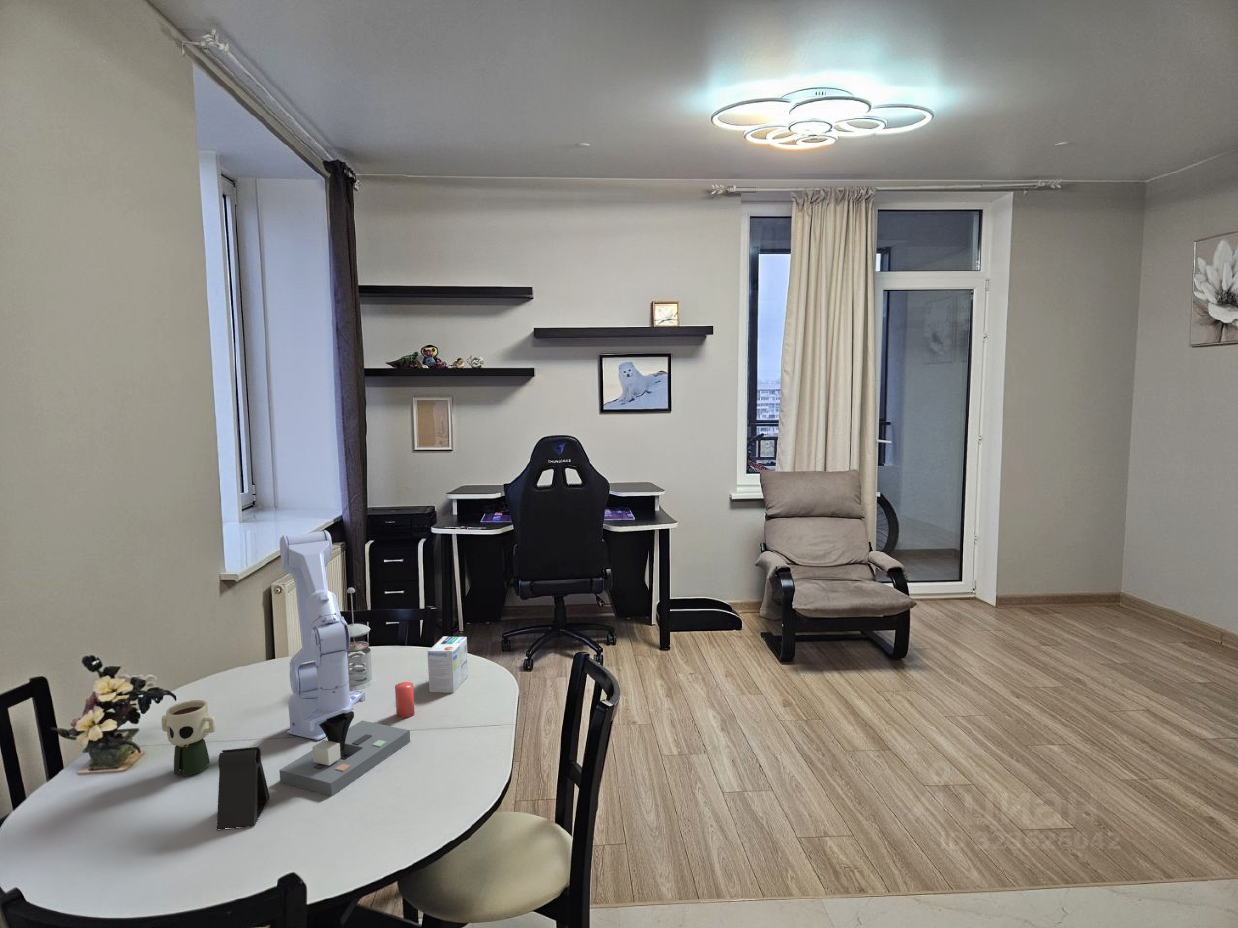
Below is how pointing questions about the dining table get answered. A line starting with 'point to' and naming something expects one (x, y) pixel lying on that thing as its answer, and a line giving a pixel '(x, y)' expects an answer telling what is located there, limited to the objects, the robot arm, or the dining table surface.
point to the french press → (359, 657)
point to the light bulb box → (447, 664)
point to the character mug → (189, 735)
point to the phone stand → (241, 788)
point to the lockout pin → (404, 700)
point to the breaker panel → (365, 752)
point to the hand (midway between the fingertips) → (337, 749)
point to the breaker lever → (326, 752)
